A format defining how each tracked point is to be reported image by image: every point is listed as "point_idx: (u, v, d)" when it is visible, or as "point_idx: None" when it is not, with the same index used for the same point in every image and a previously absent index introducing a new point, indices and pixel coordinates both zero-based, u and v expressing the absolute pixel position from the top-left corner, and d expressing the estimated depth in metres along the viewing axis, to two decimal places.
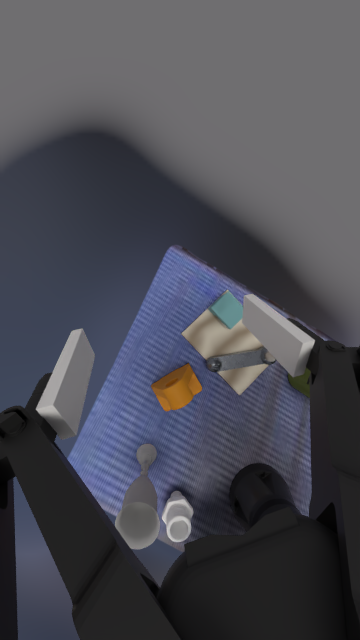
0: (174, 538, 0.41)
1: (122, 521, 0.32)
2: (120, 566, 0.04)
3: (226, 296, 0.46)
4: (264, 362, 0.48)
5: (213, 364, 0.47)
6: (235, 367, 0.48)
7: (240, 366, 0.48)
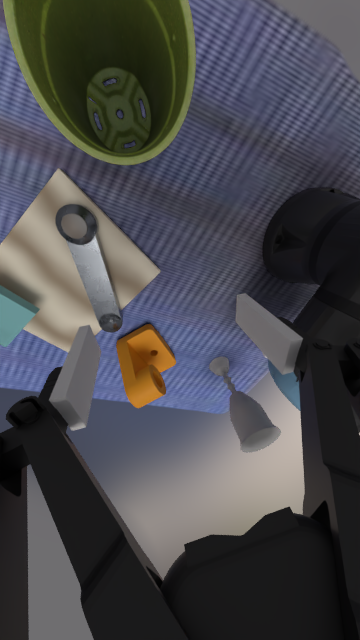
0: None
1: (255, 437, 0.35)
2: (127, 557, 0.05)
3: None
4: (93, 235, 0.24)
5: (110, 324, 0.31)
6: (110, 292, 0.28)
7: (107, 283, 0.27)
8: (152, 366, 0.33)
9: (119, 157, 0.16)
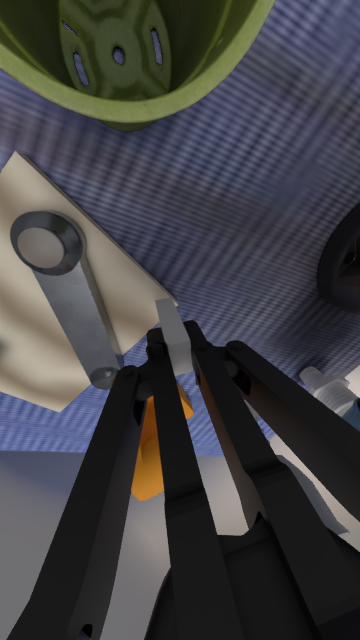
0: None
1: None
2: (204, 508, 0.05)
3: None
4: (76, 261, 0.15)
5: (106, 380, 0.22)
6: (105, 339, 0.19)
7: (101, 328, 0.18)
8: None
9: (111, 101, 0.06)
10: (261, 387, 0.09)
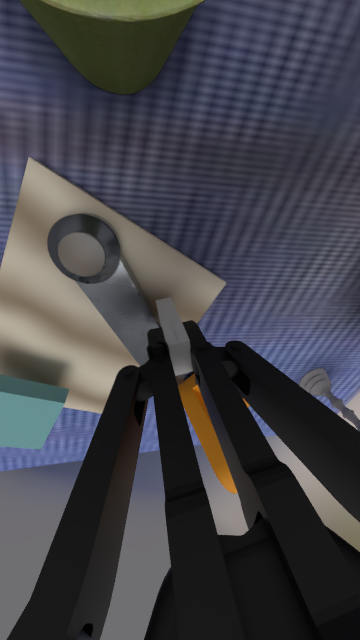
0: None
1: None
2: (204, 508, 0.05)
3: None
4: (117, 261, 0.14)
5: None
6: None
7: None
8: None
9: None
10: (261, 387, 0.09)
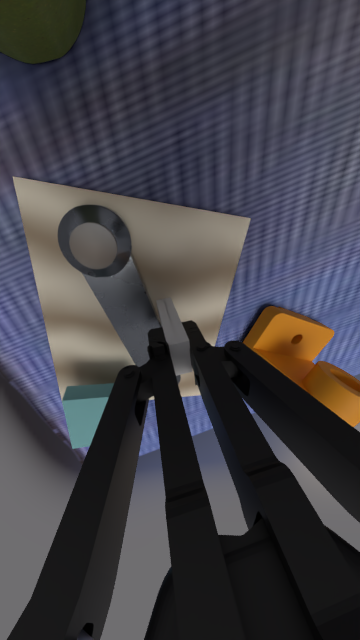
0: None
1: None
2: (204, 508, 0.05)
3: (87, 443, 0.19)
4: (127, 256, 0.13)
5: None
6: None
7: None
8: (322, 364, 0.19)
9: None
10: (260, 387, 0.09)
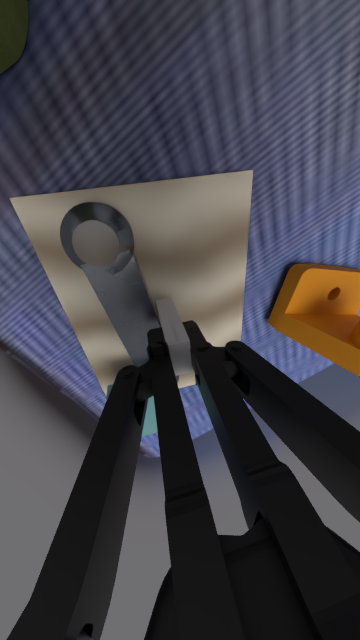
0: None
1: None
2: (204, 508, 0.05)
3: None
4: (129, 255, 0.13)
5: None
6: None
7: None
8: None
9: None
10: (261, 387, 0.09)
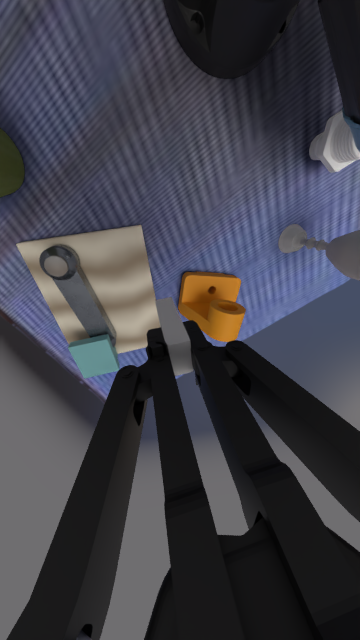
0: None
1: None
2: (204, 508, 0.05)
3: (91, 374, 0.34)
4: (74, 270, 0.27)
5: None
6: (99, 315, 0.31)
7: (95, 309, 0.30)
8: (215, 301, 0.31)
9: None
10: (261, 387, 0.09)
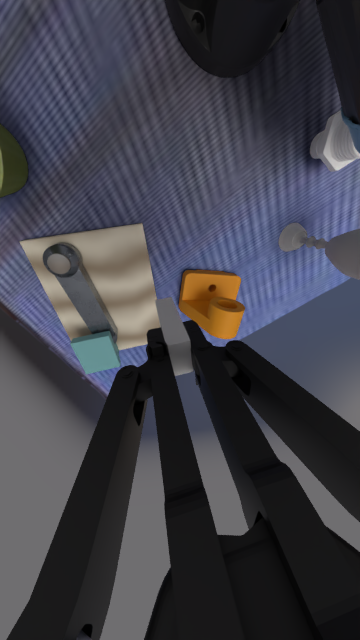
0: None
1: None
2: (204, 508, 0.05)
3: (93, 370, 0.34)
4: (77, 268, 0.27)
5: None
6: (101, 312, 0.32)
7: (97, 306, 0.31)
8: (214, 299, 0.31)
9: None
10: (261, 387, 0.09)
